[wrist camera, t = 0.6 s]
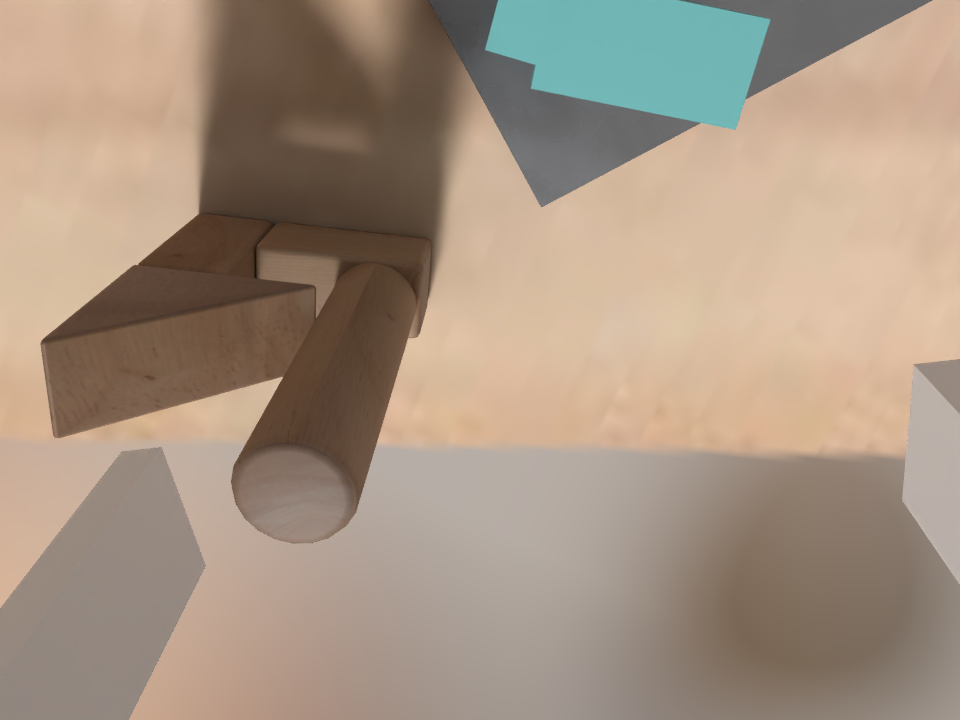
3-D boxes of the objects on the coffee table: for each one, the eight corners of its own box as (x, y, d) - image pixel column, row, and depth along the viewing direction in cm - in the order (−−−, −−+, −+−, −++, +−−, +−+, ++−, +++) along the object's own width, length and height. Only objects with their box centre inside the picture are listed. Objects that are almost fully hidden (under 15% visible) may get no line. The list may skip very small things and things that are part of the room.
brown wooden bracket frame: (197, 209, 38) (-40, 400, 22) (433, 236, 38) (366, 446, 22) (201, 285, 40) (-18, 514, 24) (427, 310, 40) (361, 556, 24)
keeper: (505, -40, 33) (500, -37, 26) (720, 4, 34) (770, 19, 27) (488, 52, 35) (479, 78, 28) (694, 94, 35) (735, 130, 28)
